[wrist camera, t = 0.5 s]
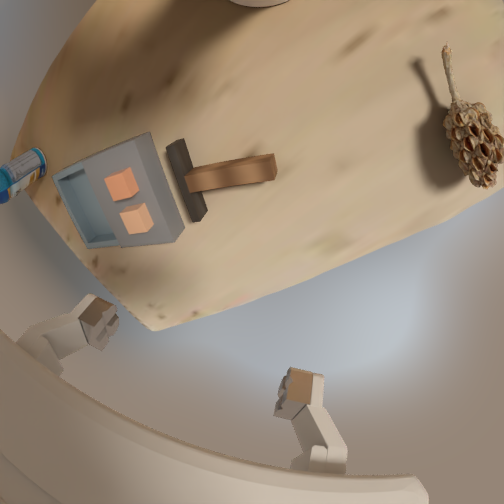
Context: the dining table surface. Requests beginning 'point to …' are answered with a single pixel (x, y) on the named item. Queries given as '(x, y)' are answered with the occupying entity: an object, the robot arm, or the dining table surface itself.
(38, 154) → the beverage bottle
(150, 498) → the robot arm
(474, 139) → the pine cone
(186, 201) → the wooden t-shaped pusher
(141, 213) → the tile
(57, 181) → the box
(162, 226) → the grey slab
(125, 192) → the tile
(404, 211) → the dining table surface
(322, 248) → the dining table surface
